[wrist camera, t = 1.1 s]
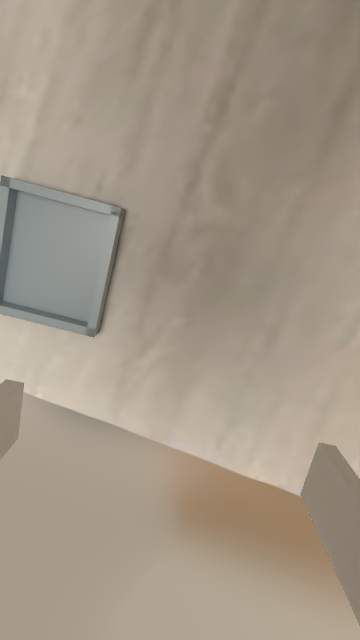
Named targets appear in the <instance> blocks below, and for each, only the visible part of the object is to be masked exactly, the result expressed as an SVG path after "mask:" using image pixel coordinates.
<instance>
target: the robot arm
mask: <svg viewBox="0 0 360 640" xmlns="http://www.w3.org/2000/svg"><path fill="white" fill-rule="evenodd" d="M23 388H24V383H22V382H17V381H12V380H7V379H6V380H5V381H4V382H2V383H1V384H0V459H1V458H2V457H3V456H4V455H5V453H6V452H7V451H8V450H9V449H10V447H11V446H12V445H13V444H14V443H15V441H16V440H17V439H18V433H19V424H20V414H21V406H22V397H23ZM301 496H302V498H303V500H304V503H305V505H306V507H307V509H308V512H309V514H310V516H311V518H312V521H313V523H314V525H315V527H316V529H317V532H318V534H319V536H320V538H321V540H322V543H323V545H324V547H325V549H326V552H327V554H328V556H329V558H330V561H331V563H332V565H333V567H334V569H335V571H336V574H337V576H338V578H339V580H340V583H341V585H342V587H343V589H344V592H345V594H346V596H347V598H348V600H349V602H350V605H351V607H352V609H353V611H354V614H355V616H356V618H357V620H358V623H359V625H360V479H359V478H358V476H357V475H356V473H355V472H354V471H353V469H352V468H351V467H350V465H349V464H348V462H347V461H346V460H345V458H344V457H343V456H342V454H341V453H340V451H339V450H338V449H337V447H336V446H333V445H328V444H323V443H319V444H318V447H317V449H316V452H315V455H314V458H313V461H312V464H311V466H310V469H309V472H308V475H307V478H306V481H305V483H304V486H303V489H302V492H301Z"/></svg>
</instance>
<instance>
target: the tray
mask: <svg viewBox="0 0 360 640" xmlns="http://www.w3.org/2000/svg"><path fill="white" fill-rule="evenodd" d="M124 213H125V210H124V209H122V208H120V207H116V206H112V205H109V204H105V203H101V202H97V201H94V200H90V199H86V198H83V197H79V196H75V195H72V194H68V193H64V192H61V191H57V190H53V189H50V188H46V187H42V186H39V185H35V184H31V183H27V182H24V181H20V180H16V179H13V178H9V177H5V176H2V175H1V181H0V314H3V315H7V316H11V317H15V318H19V319H23V320H27V321H31V322H35V323H39V324H43V325H47V326H51V327H55V328H59V329H63V330H67V331H71V332H75V333H79V334H83V335H87V336H90V337H95V336H96V335H97V334H98V332H99V330H100V325H101V321H102V316H103V311H104V307H105V302H106V297H107V293H108V288H109V283H110V278H111V274H112V269H113V264H114V260H115V255H116V250H117V246H118V241H119V236H120V231H121V227H122V222H123V217H124Z"/></svg>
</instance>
